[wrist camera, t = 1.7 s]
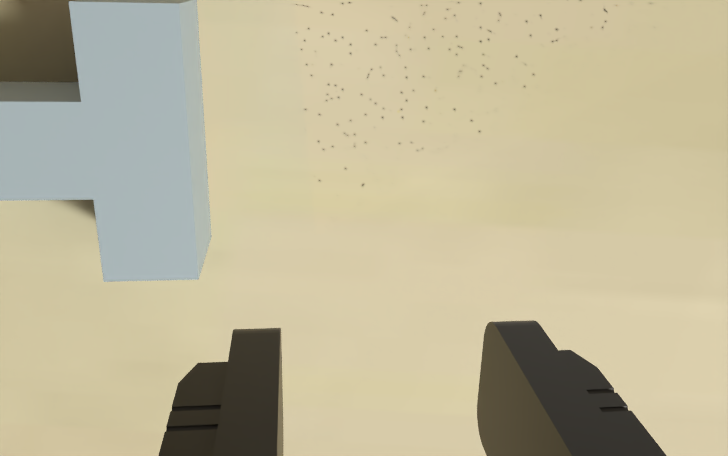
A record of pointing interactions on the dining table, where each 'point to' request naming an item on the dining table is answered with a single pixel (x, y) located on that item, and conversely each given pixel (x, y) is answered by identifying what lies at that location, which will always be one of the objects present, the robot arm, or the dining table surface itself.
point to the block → (120, 137)
